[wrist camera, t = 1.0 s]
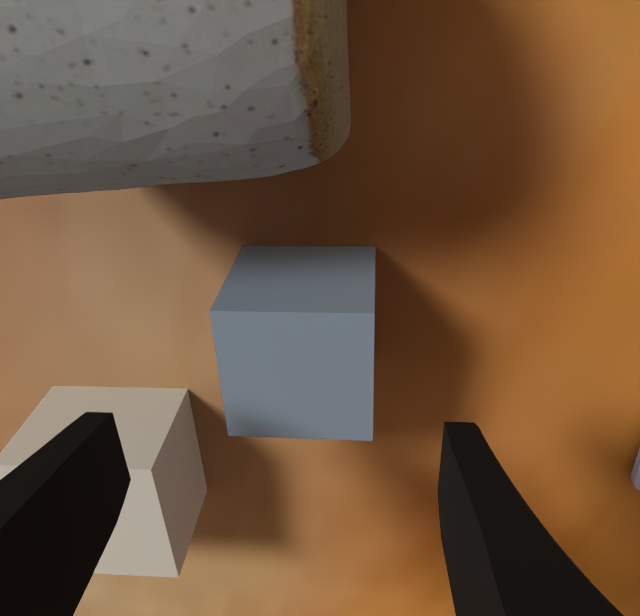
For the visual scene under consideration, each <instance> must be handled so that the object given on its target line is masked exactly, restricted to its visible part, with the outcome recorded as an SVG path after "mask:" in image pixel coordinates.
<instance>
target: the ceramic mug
mask: <svg viewBox="0 0 640 616" xmlns="http://www.w3.org/2000/svg"><path fill="white" fill-rule="evenodd" d="M350 129H351V109H350V81H349V57H348V25H347V0H0V199H6V198H15V197H25V196H37V195H51V194H61V193H80V192H90V191H103V190H120V189H128V188H137V187H148V186H156V185H162V184H177V183H195V182H216V181H230V180H243V179H252V178H261V177H268V176H274V175H278V174H282V173H286V172H290V171H295V170H299V169H303V168H307V167H311V166H313V165H316V164H319V163H322V162H324V161H327V160H328V159H329V158H331V157H332V156H333V155H335V154H336V153H337V152H339V150H340V149H341V147H342V146H343V144H344V143H345V141H346V140H347V138H348V137H349V133H350Z"/></svg>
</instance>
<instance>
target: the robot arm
mask: <svg viewBox="0 0 640 616" xmlns="http://www.w3.org/2000/svg"><path fill="white" fill-rule="evenodd" d="M631 480H632V482H633V484H634V486H635V488H636V489H638V490H639V491H640V448H639V451H638V454H637V457H636V460H635V463H634V467H633V470H632V473H631ZM130 481H131V478H130V474H129V471H128V467H127V463H126V460H125V456H124V452H123V449H122V445H121V441H120V438H119V434H118V430H117V427H116V423H115V419H114V416H113V413H110V412H85V413H84V414H83V415H81V416H80V417H79V418H77V419H76V420H75V421H73V422H72V423H71V424H70V425H68V426H67V427H66V428H65V429H63V430H62V431H61V432H60V433H58V434H57V435H56V436H55V437H53V438H52V439H51V440H50V441H49V442H47V443H46V444H45V445H44V446H42V447H41V448H40V449H39V450H37V451H36V452H35V453H34V454H32V455H31V456H30V457H29V458H27V459H26V460H25V461H24V462H22V463H21V464H20V465H19V466H17V467H16V468H15V469H14V470H12V471H11V472H10V473H8V474H7V475H6V476H5V477H3V478H2V479H1V480H0V616H73V614H74V612H75V610H76V608H77V606H78V604H79V602H80V600H81V598H82V595H83V593H84V591H85V589H86V587H87V585H88V583H89V581H90V579H91V577H92V575H93V573H94V571H95V568H96V566H97V564H98V562H99V560H100V558H101V556H102V554H103V552H104V550H105V548H106V545H107V543H108V541H109V539H110V537H111V535H112V533H113V530H114V528H115V526H116V524H117V521H118V518H119V515H120V512H121V510H122V507H123V504H124V501H125V497H126V494H127V491H128V488H129V485H130ZM438 503H439V516H440V528H441V539H442V544H443V550H444V555H445V560H446V566H447V571H448V576H449V582H450V587H451V592H452V597H453V603H454V608H455V613H456V616H623V615H622V614H621V613H620V612H619V611H618V610H617V609H616V608H615V607H614V606H613V605H612V604H611V603H610V602H609V601H608V599H607V598H606V597H605V596H604V595H603V594H602V593H601V592H600V591H599V590H598V589H597V588H596V587H595V586H594V585H593V584H592V583H591V582H590V581H589V579H588V578H587V577H586V576H585V575H584V574H583V573H582V572H581V571H580V569H579V568H578V567H577V566H576V565H575V564H574V563H573V562H572V560H571V559H570V558H569V557H568V556H567V555H566V553H565V552H564V551H563V550H562V549H561V547H560V546H559V545H558V544H557V543H556V541H555V540H554V539H553V538H552V536H551V535H550V534H549V532H548V531H547V530H546V529H545V527H544V526H543V525H542V524H541V522H540V521H539V520H538V518H537V517H536V516H535V514H534V513H533V512H532V510H531V509H530V508H529V506H528V505H527V503H526V502H525V500H524V499H523V498H522V496H521V495H520V493H519V492H518V491H517V489H516V488H515V486H514V485H513V483H512V482H511V480H510V479H509V477H508V476H507V474H506V473H505V471H504V470H503V468H502V466H501V465H500V463H499V462H498V460H497V459H496V457H495V455H494V454H493V452H492V450H491V449H490V447H489V445H488V443H487V442H486V440H485V438H484V436H483V434H482V433H481V431H480V429H479V427H478V426H477V425H476V424H475V423H469V422H444V430H443V441H442V451H441V462H440V472H439V483H438Z"/></svg>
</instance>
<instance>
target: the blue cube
mask: <svg viewBox="0 0 640 616" xmlns="http://www.w3.org/2000/svg"><path fill="white" fill-rule="evenodd" d="M375 254H376V246H242V248H241V250H240V252H239V254H238V256H237V258H236V260H235V262H234V264H233V266H232V268H231V270H230V271H229V273H228V275H227V277H226V279H225V281H224V283H223V285H222V287H221V289H220V291H219V293H218V295H217V297H216V299H215V301H214V303H213V305H212V307H211V309H210V318H211V325H212V331H213V338H214V345H215V351H216V358H217V365H218V372H219V378H220V385H221V392H222V398H223V405H224V412H225V418H226V425H227V432H228V436H248V437H276V438H304V439H332V440H360V441H373V396H374V326H375Z"/></svg>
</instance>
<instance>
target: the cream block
mask: <svg viewBox="0 0 640 616" xmlns="http://www.w3.org/2000/svg"><path fill="white" fill-rule="evenodd" d="M85 412H110V413H113V416H114V419H115V423H116V427H117V430H118V434H119V438H120V441H121V445H122V449H123V452H124V456H125V460H126V463H127V467H128V471H129V474H130V478H131V481H130V485H129V488H128V491H127V494H126V497H125V501H124V504H123V507H122V510H121V512H120V515H119V518H118V521H117V524H116V526H115V528H114V530H113V533H112V535H111V537H110V539H109V541H108V543H107V545H106V548H105V550H104V552H103V554H102V556H101V558H100V560H99V562H98V564H97V566H96V568H95V571H94V573H98V574H118V575H138V576H158V577H179V575H180V572H181V569H182V566H183V563H184V560H185V557H186V554H187V550H188V547H189V544H190V541H191V538H192V535H193V532H194V529H195V526H196V523H197V520H198V517H199V514H200V511H201V508H202V505H203V501H204V498H205V495H206V492H207V485H206V480H205V475H204V470H203V465H202V460H201V454H200V449H199V444H198V439H197V434H196V429H195V424H194V419H193V413H192V408H191V403H190V398H189V393H188V389H175V388H126V387H76V386H52V388H51V389H50V390H49V392H48V393H47V394H46V395H45V397H44V398H43V399H42V401H41V402H40V403H39V404H38V406H37V407H36V408H35V409H34V411H33V412H32V413H31V415H30V416H29V417H28V418H27V420H26V421H25V422H24V423H23V425H22V426H21V427H20V429H19V430H18V431H17V432H16V434H15V435H14V436H13V438H12V439H11V440H10V441H9V443H8V444H7V445H6V446H5V448H4V449H3V450H2V452H1V453H0V480H1V479H2V478H3V477H5V476H6V475H7V474H8V473H10V472H11V471H12V470H14V469H15V468H16V467H17V466H19V465H20V464H21V463H22V462H24V461H25V460H26V459H27V458H29V457H30V456H31V455H32V454H34V453H35V452H36V451H37V450H39V449H40V448H41V447H42V446H44V445H45V444H46V443H47V442H49V441H50V440H51V439H52V438H53V437H55V436H56V435H57V434H58V433H60V432H61V431H62V430H63V429H65V428H66V427H67V426H68V425H70V424H71V423H72V422H73V421H75V420H76V419H77V418H79V417H80V416H81V415H83V414H84V413H85Z"/></svg>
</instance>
